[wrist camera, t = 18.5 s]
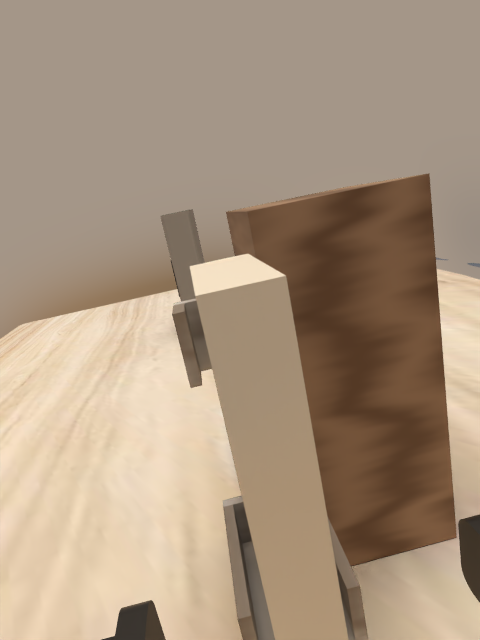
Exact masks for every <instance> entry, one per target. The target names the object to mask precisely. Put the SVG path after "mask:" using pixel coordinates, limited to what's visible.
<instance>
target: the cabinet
mask: <svg viewBox="0 0 480 640" xmlns="http://www.w3.org/2000/svg"><path fill="white" fill-rule="evenodd" d="M226 214H227V219H228V224H229V228H230V234H231V239H232V244H233V248H234V253H235V256H239V255H244V254H250V255H251V256H253V257H255V258H256V259H258V260H260V261H262V262H263V263H265V264H267V265H269V266H270V267H272V268H274V269H275V270H277V271H279V272H281V273H282V274H284V275H286V278H287V284H288V290H289V296H290V301H291V307H292V313H293V319H294V325H295V331H296V336H297V342H298V348H299V354H300V360H301V366H302V371H303V377H304V383H305V389H306V395H307V401H308V406H309V412H310V418H311V424H312V430H313V436H314V441H315V447H316V453H317V459H318V465H319V471H320V476H321V482H322V488H323V494H324V500H325V506H326V511H327V517H328V523H329V529H330V535H331V541H332V546H333V552H334V558H335V564H336V570H337V576H338V581H339V587H340V593H341V599H342V605H343V611H344V616H345V622H346V628H347V634H348V640H368V635H367V629H366V622H365V616H364V609H363V603H362V597H361V590H360V585H359V583H358V581H357V578H356V576H355V574H354V572H353V570H352V568H351V566H353V565H357V564H360V563H364V562H368V561H371V560H375V559H379V558H382V557H386V556H390V555H393V554H397V553H401V552H404V551H408V550H412V549H415V548H419V547H423V546H426V545H430V544H434V543H437V542H441V541H445V540H448V539H452V538H456V524H455V510H454V497H453V484H452V470H451V457H450V444H449V430H448V417H447V404H446V390H445V377H444V364H443V350H442V337H441V324H440V310H439V297H438V284H437V270H436V257H435V245H434V231H433V217H432V204H431V192H430V177H429V174H423V175H417V176H411V177H405V178H398V179H392V180H386V181H380V182H373V183H368V184H361V185H355V186H349V187H343V188H339V189H334V190H329V191H325V192H319V193H315V194H311V195H305V196H300V197H296V198H291V199H286V200H281V201H276V202H271V203H267V204H262V205H257V206H252V207H248V208H243V209H238V210H233V211H228V212H226ZM172 315H173V319H174V323H175V327H176V331H177V335H178V339H179V343H180V347H181V351H182V355H183V359H184V363H185V367H186V371H187V375H188V379H189V383H190V387H191V388H192V387H197V386H201V385H202V378H201V371H204V370H208V369H212V366H211V361H210V357H209V353H208V348H207V344H206V340H205V335H204V331H203V327H202V323H201V318H200V314H199V310H198V305H197V301H196V298H195V299H191V300H186V301H182V302H177V303H174V305H173V312H172ZM223 508H224V515H225V523H226V531H227V539H228V547H229V554H230V562H231V570H232V578H233V586H234V594H235V601H236V609H237V617H238V622H239V626H240V630H241V634H242V637H243V640H275V636H274V632H273V628H272V624H271V619H270V615H269V611H268V606H267V602H266V598H265V593H264V589H263V585H262V581H261V576H260V572H259V568H258V563H257V559H256V555H255V550H254V546H253V542H252V538H251V533H250V529H249V525H248V520H247V516H246V512H245V507H244V503H243V499H242V496H238V497H235V498H231V499H227V500H223Z"/></svg>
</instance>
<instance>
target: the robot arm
mask: <svg viewBox="0 0 480 640" xmlns="http://www.w3.org/2000/svg"><path fill="white" fill-rule="evenodd" d="M458 526H459V540H460V554H461V566H462V571H463V574H464V577H465V579H466V582H467V584H468V586H469V588H470V589H471V591H472V593H473V594H474V595H475V597H476V598H477V599H478V601H479V602H480V515H476V516H472V517H469V518H465V519H461V520H460V521H459V524H458ZM102 640H166V639H165V636H164V633H163V630H162V627H161V624H160V621H159V618H158V614H157V611H156V608H155V605H154V603H153V601H152V600H150V601H146V602H143V603H139V604H135V605H131V606H127V607H124V608H121V610H120V612H119V616H118V622H117V628H116V634H115V636H113V637H110V638H106V639H102Z"/></svg>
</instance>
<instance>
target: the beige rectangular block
mask: <svg viewBox="0 0 480 640" xmlns="http://www.w3.org/2000/svg"><path fill="white" fill-rule="evenodd" d="M190 271H191V276H192V281H193V286H194V292H195V297H196V301H197V305H198V310H199V314H200V318H201V323H202V327H203V331H204V335H205V340H206V344H207V348H208V353H209V357H210V361H211V366H212V370H213V374H214V378H215V383H216V387H217V391H218V396H219V400H220V404H221V409H222V413H223V417H224V421H225V426H226V430H227V434H228V439H229V443H230V447H231V452H232V456H233V460H234V464H235V469H236V473H237V477H238V482H239V486H240V490H241V495H242V499H243V503H244V507H245V512H246V516H247V520H248V525H249V529H250V533H251V538H252V542H253V546H254V550H255V555H256V559H257V563H258V568H259V572H260V576H261V581H262V585H263V589H264V593H265V598H266V602H267V606H268V611H269V615H270V619H271V624H272V628H273V632H274V636H275V640H348V634H347V628H346V622H345V616H344V611H343V605H342V599H341V593H340V587H339V581H338V576H337V570H336V564H335V558H334V552H333V546H332V541H331V535H330V529H329V523H328V517H327V511H326V506H325V500H324V494H323V488H322V482H321V476H320V471H319V465H318V459H317V453H316V447H315V441H314V436H313V430H312V424H311V418H310V412H309V406H308V401H307V395H306V389H305V383H304V377H303V371H302V366H301V360H300V354H299V348H298V342H297V336H296V331H295V325H294V319H293V313H292V307H291V301H290V296H289V290H288V284H287V278H286V275H284V274H282V273H281V272H279V271H277V270H275V269H274V268H272V267H270V266H269V265H267V264H265V263H263V262H262V261H260V260H258V259H256V258H255V257H253V256H251V255H250V254H244V255H239V256H234V257H230V258H225V259H221V260H216V261H211V262H207V263H202V264H198V265H193V266H190Z"/></svg>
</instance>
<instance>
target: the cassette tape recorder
mask: <svg viewBox="0 0 480 640" xmlns="http://www.w3.org/2000/svg"><path fill="white" fill-rule="evenodd" d="M161 221H162V225H163V229H164V233H165V237H166V241H167V245H168V249H169V253H170V258H171V263H172V268H173V272H174V276H175V280H176V285H177V289H178V293H179V297H180V299H181V302H182V301H186V300H191V299H195V298H196V297H195V292H194V286H193V281H192V276H191V271H190V266H193V265H198V264H202V263H204V258H203V254H202V249H201V245H200V240H199V236H198V231H197V227H196V222H195V218H194V213H193V210H186V211H181V212H177V213H172V214H167V215H162V216H161Z"/></svg>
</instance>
